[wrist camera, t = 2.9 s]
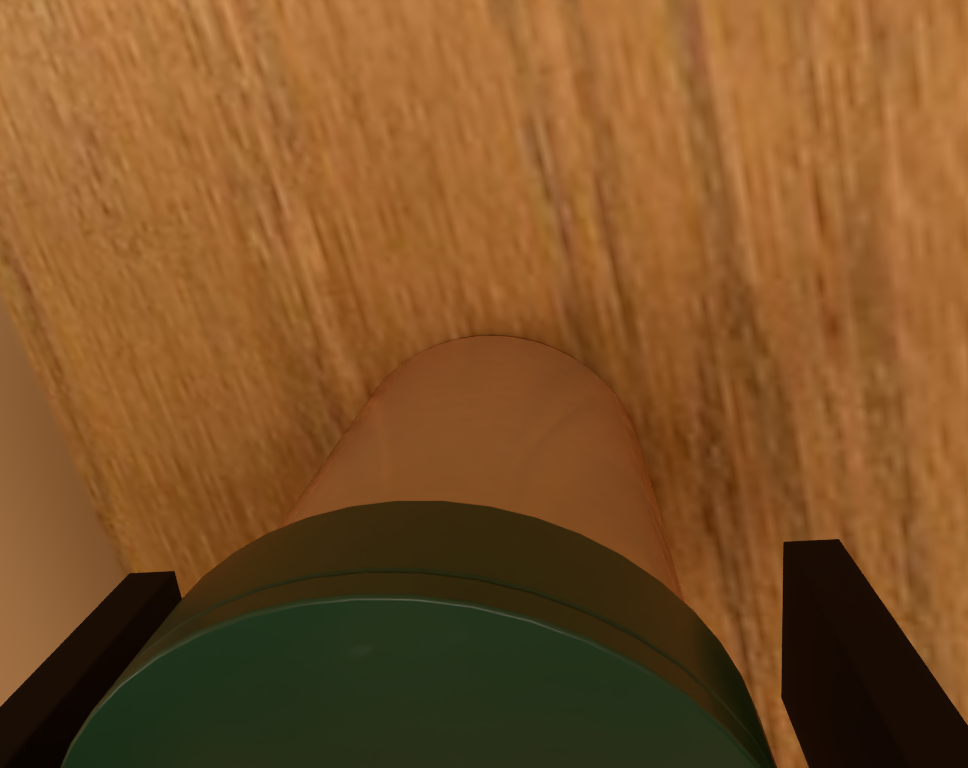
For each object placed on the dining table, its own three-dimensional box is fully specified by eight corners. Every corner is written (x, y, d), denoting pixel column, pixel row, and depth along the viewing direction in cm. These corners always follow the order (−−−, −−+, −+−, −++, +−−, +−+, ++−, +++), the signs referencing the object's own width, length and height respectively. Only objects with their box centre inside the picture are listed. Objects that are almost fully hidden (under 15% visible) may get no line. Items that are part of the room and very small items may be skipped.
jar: (373, 610, 19) (191, 1088, 9) (326, 348, 17) (33, 620, 7) (649, 598, 18) (757, 1107, 9) (636, 321, 16) (757, 588, 7)
